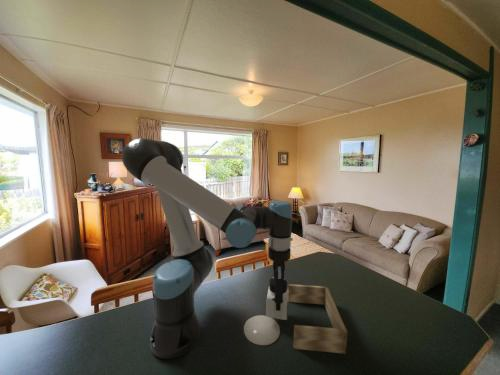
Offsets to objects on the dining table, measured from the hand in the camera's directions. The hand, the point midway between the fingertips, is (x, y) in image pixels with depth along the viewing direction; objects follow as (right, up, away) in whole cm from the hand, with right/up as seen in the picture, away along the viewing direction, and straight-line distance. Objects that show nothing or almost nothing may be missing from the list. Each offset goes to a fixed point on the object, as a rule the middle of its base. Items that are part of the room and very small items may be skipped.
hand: (277, 308), depth 73 cm
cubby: (+12, -4, -1) cm, 13 cm away
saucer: (-6, -5, -4) cm, 8 cm away
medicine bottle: (0, -1, 0) cm, 1 cm away
